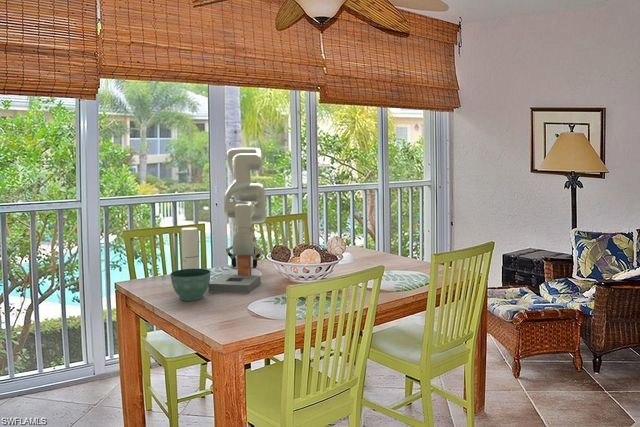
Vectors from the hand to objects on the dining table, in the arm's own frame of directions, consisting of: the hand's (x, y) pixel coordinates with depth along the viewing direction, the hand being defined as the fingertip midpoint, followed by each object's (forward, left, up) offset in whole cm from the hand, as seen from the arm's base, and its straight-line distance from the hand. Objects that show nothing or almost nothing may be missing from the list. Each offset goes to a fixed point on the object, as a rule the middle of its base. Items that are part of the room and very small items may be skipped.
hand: (244, 267), depth 282 cm
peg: (0, 0, -6) cm, 6 cm away
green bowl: (+33, -12, -6) cm, 36 cm away
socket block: (+14, 0, -6) cm, 15 cm away
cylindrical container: (+10, -22, -6) cm, 25 cm away
